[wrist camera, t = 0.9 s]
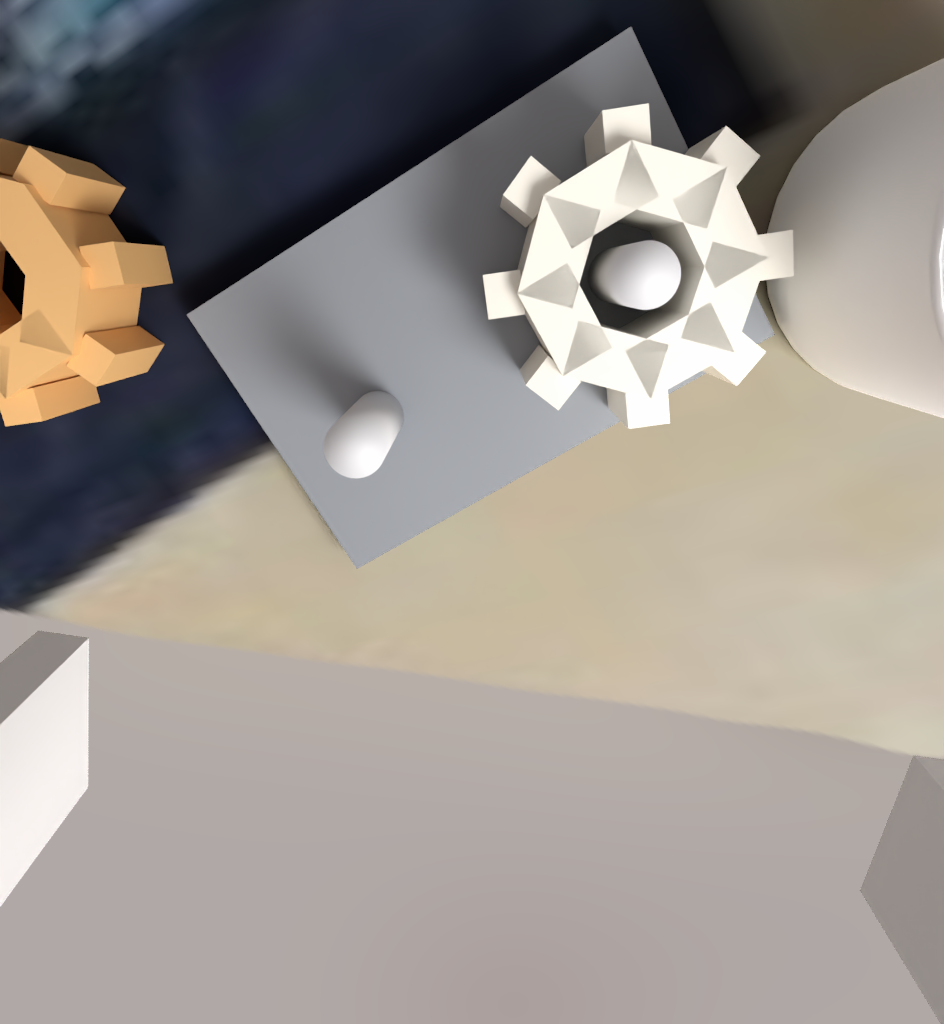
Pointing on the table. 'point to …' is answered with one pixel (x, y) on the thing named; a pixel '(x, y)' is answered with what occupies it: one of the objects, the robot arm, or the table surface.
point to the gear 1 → (68, 286)
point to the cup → (871, 245)
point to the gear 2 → (672, 221)
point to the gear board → (437, 320)
